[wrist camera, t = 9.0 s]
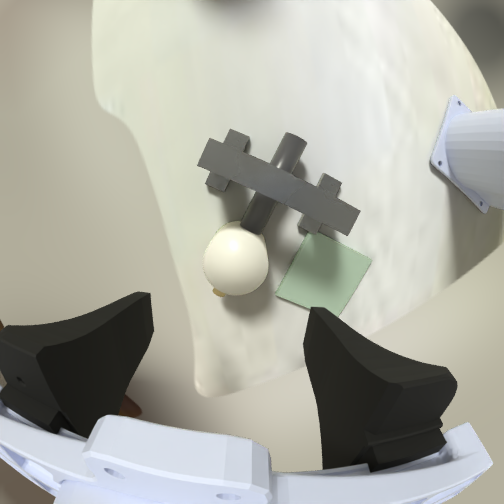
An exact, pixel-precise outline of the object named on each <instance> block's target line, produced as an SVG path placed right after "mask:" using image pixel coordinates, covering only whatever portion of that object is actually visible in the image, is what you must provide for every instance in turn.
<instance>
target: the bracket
mask: <svg viewBox="0 0 504 504" xmlns="http://www.w3.org/2000/svg"><path fill="white" fill-rule="evenodd" d="M249 138H250V137H249V136H246V135H244V134H242V133H239V132H237V131H234V130H232V129H230V130H229V132H228V134H227V136H226V138H225V141H224V143H221V142H219V141H216V140H214V139H211V138H209V140H208V142H207V144H206V147H205V149H204V151H203V153H202V156H201V158H200V160H199V162H198V165H197V166H199V167H202V168H204V169H206V170H209V171H210V173H209V176H208V178H207V180H206V183H205V184H206V185H209V186H211V187H213V188H216V189H218V190H220V191H222V192H225V190H226V187H227V185H228V183H229V181H230V180H232V181H234V182H237V183H239V184H241V185H243V186H246V187H248V188H250V189H252V190H254V191H257V192H259V193H261V194H263V195H265V196H268V197H270V198H272V199H274V200H276V201H278V202H280V203H282V204H284V205H287V206H289V207H291V208H293V209H295V210H297V211H299V212H301V213H303V215H302V217H301V219H300V221H299V223H298V226H299V227H301V228H303V229H305V230H307V231H309V232H311V233H313V234H315V235H316V234H317V232H318V230H319V228H320V226H321V224H322V223H323V224H325V225H327V226H329V227H331V228H333V229H335V230H337V231H339V232H341V233H342V234H344V235H346V236H348V235H349V233H350V231H351V229H352V227H353V225H354V223H355V221H356V219H357V217H358V215H359V213H360V210H358V209H356V208H354V207H353V206H351V205H349V204H347V203H346V202H344V201H342V200H340V199H338V198H337V197H335V196H336V194H337V192H338V190H339V188H340V186H341V184H342V183H341V182H340V181H338V180H336V179H334V178H332V177H331V176H329V175H327V174H325V173H323V174H322V176H321V178H320V180H319V182H318V184H317V186H314V185H312V184H310V183H308V182H306V181H304V180H302V179H300V178H298V177H296V176H294V175H292V174H290V173H288V172H286V171H284V170H282V169H280V168H278V167H276V166H273V165H271V164H269V163H267V162H265V161H263V160H260V159H258V158H256V157H254V156H251V155H249V154H247V153H245V152H243V150H244V148H245V146H246V144H247V142H248V140H249Z"/></svg>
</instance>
